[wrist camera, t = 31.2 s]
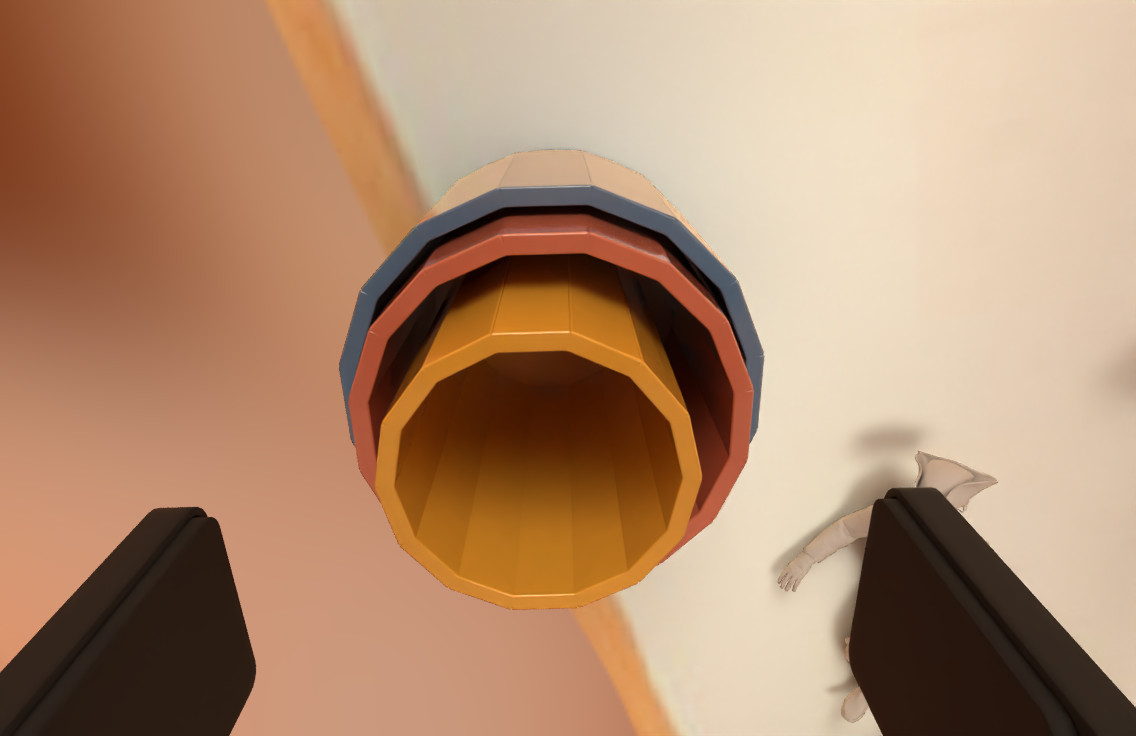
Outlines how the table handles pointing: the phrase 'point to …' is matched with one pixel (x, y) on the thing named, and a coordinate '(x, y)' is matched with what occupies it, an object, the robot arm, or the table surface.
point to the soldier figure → (933, 472)
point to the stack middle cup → (698, 323)
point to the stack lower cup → (556, 184)
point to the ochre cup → (539, 437)
